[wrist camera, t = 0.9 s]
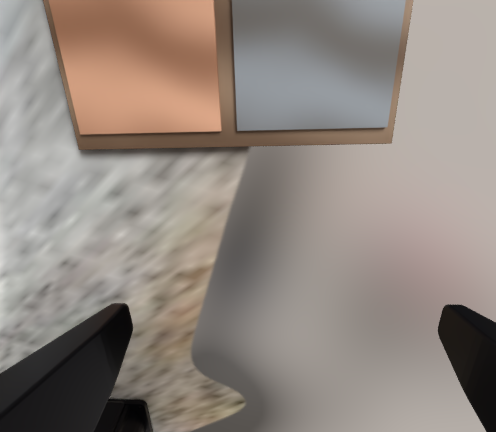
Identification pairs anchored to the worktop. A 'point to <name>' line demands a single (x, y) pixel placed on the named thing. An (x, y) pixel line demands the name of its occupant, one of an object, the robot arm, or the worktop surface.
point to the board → (230, 71)
